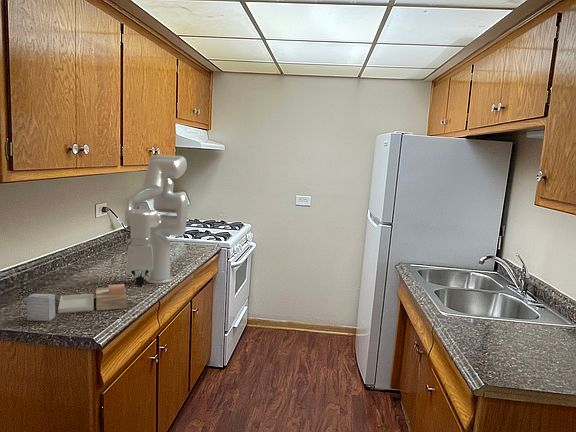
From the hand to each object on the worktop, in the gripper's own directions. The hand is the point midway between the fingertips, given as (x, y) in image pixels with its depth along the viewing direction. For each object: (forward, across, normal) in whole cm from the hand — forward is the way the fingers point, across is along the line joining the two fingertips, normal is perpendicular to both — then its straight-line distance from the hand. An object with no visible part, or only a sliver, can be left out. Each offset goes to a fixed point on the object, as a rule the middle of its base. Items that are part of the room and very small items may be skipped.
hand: (139, 286), depth 181 cm
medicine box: (+7, -34, -11) cm, 37 cm away
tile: (+2, -9, +1) cm, 9 cm away
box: (+6, -23, +1) cm, 24 cm away
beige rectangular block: (+6, -11, +1) cm, 12 cm away
